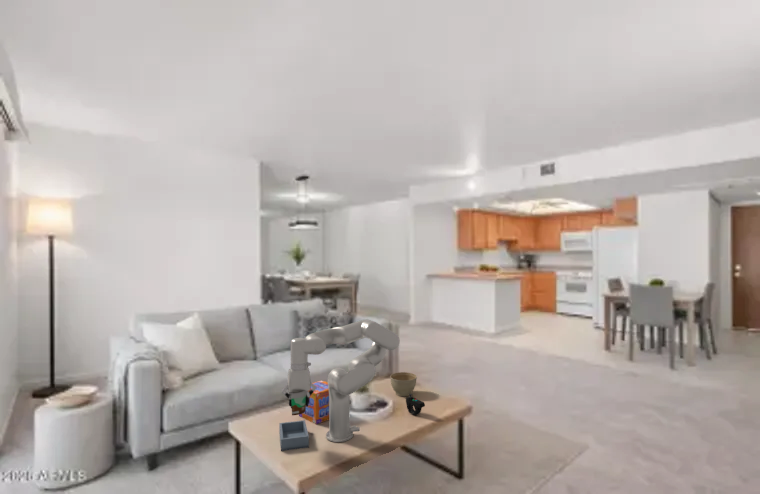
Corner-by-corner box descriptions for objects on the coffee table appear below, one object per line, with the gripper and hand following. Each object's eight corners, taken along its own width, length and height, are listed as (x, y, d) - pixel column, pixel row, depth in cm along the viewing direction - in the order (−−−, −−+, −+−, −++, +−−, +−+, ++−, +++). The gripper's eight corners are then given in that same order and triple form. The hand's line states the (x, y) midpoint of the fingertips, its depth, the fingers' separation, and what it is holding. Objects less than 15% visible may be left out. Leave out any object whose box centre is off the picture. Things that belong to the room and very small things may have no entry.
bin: (304, 430, 201) (304, 420, 201) (308, 447, 184) (308, 436, 184) (279, 433, 198) (279, 423, 198) (280, 451, 181) (280, 439, 181)
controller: (410, 410, 226) (410, 392, 226) (426, 417, 216) (426, 398, 216) (404, 412, 223) (404, 393, 223) (420, 419, 214) (420, 400, 214)
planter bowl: (384, 394, 251) (384, 376, 251) (400, 387, 263) (400, 370, 263) (406, 400, 240) (406, 382, 241) (422, 393, 253) (421, 375, 253)
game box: (340, 415, 219) (339, 386, 219) (316, 424, 208) (315, 393, 208) (322, 408, 230) (322, 379, 230) (298, 416, 219) (298, 386, 219)
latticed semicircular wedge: (305, 416, 181) (305, 393, 181) (291, 416, 181) (290, 393, 181) (310, 405, 193) (310, 384, 193) (297, 405, 193) (296, 384, 193)
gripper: (316, 362, 193) (316, 401, 193) (278, 365, 187) (278, 405, 187) (319, 366, 186) (319, 406, 186) (280, 370, 180) (280, 411, 180)
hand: (299, 406), depth 186 cm, fingers closed on latticed semicircular wedge, 6 cm apart
